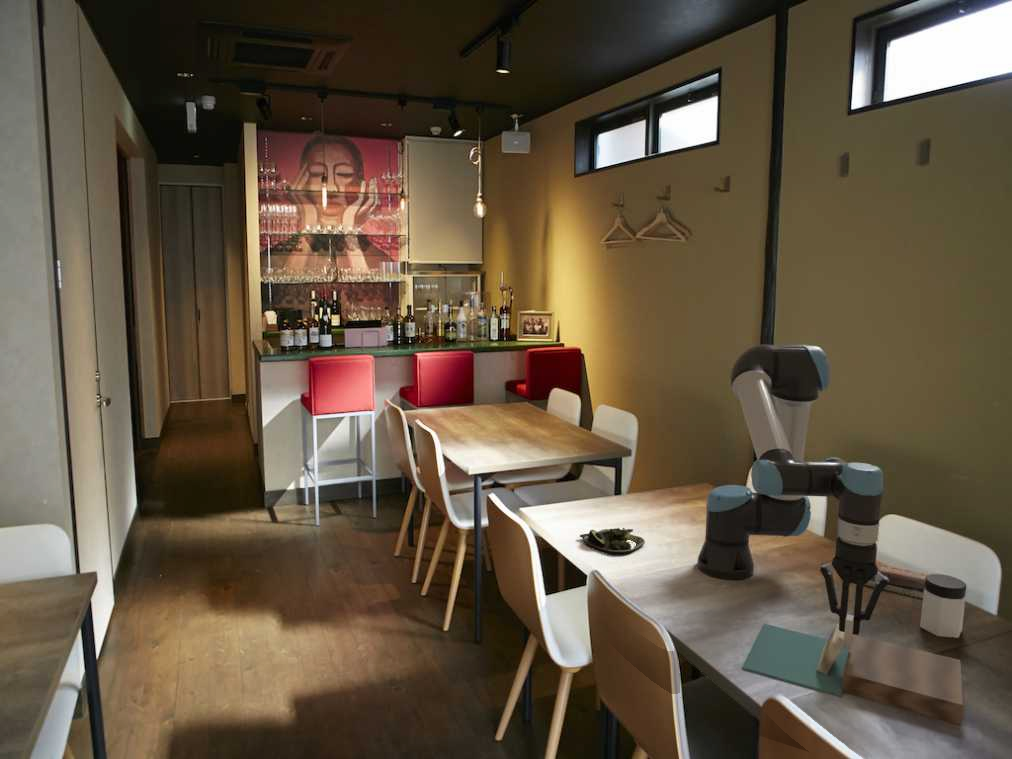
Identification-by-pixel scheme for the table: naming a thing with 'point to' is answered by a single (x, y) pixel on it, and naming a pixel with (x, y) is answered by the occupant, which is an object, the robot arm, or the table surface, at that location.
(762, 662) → the teal mat
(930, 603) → the jar
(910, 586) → the packaged product
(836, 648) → the maple tile
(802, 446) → the robot arm
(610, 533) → the salad plate
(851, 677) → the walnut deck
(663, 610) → the table surface
